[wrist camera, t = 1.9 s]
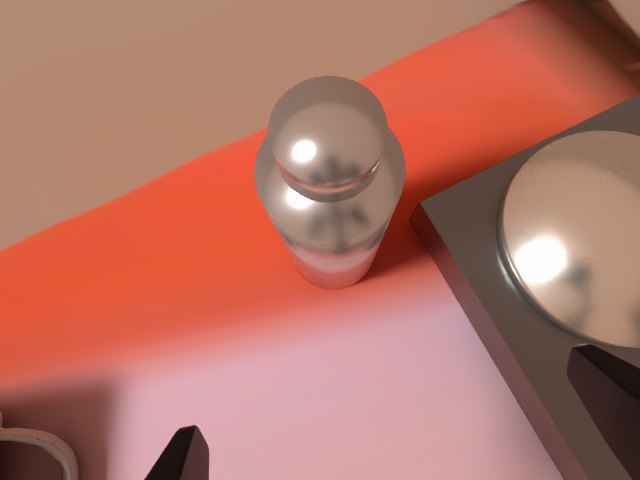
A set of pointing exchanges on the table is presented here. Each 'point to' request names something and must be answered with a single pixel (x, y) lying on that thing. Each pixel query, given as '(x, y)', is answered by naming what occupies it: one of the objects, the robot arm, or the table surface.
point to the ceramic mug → (45, 446)
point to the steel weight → (330, 178)
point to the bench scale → (550, 270)
